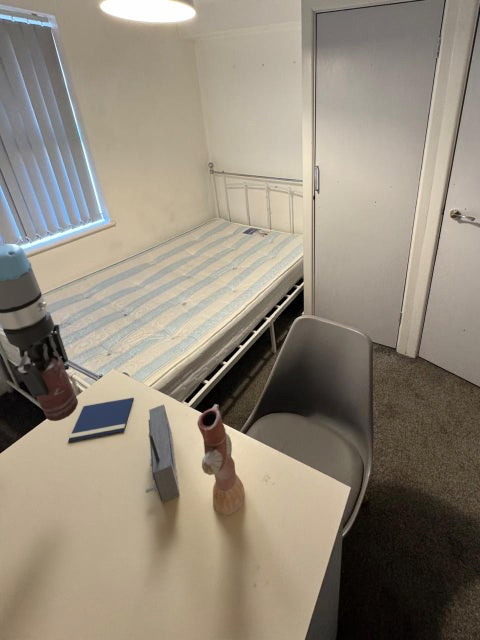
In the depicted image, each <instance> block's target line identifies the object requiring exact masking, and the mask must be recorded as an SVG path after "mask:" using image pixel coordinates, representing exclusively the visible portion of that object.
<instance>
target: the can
mask: <svg viewBox="0 0 480 640" xmlns="http://www.w3.org/2000/svg"><path fill="white" fill-rule="evenodd" d="M48 357H49V360H48V361H47V363H48V367H47V369H46V370H43V369H41V370H43V371H39V373H40V375H41V377H42V378H43V380H44V382H45V384H46V385H47V388H48V390H49V394H48V395H47V396H40V397H36V400H37V401H38V403H39V406H40V407H41V409H42V412H43V414H44V416H45V418H46V419H47V420H48V421H51V422H59V421H62V420H64V419H66V418H68V417H70V416H71V415H72V414H73V413H74V412H75V411H76V409H77V407H78V404H79V400H78V398H77V395H76V393H75V391H74V388H73V385H72V382H71V380H70V377H69V375H68V373H67V370H65V368H64V365H63V363H62V360H61V359H60V358H58V357H57V356H54V355H51V356H48Z"/></svg>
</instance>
